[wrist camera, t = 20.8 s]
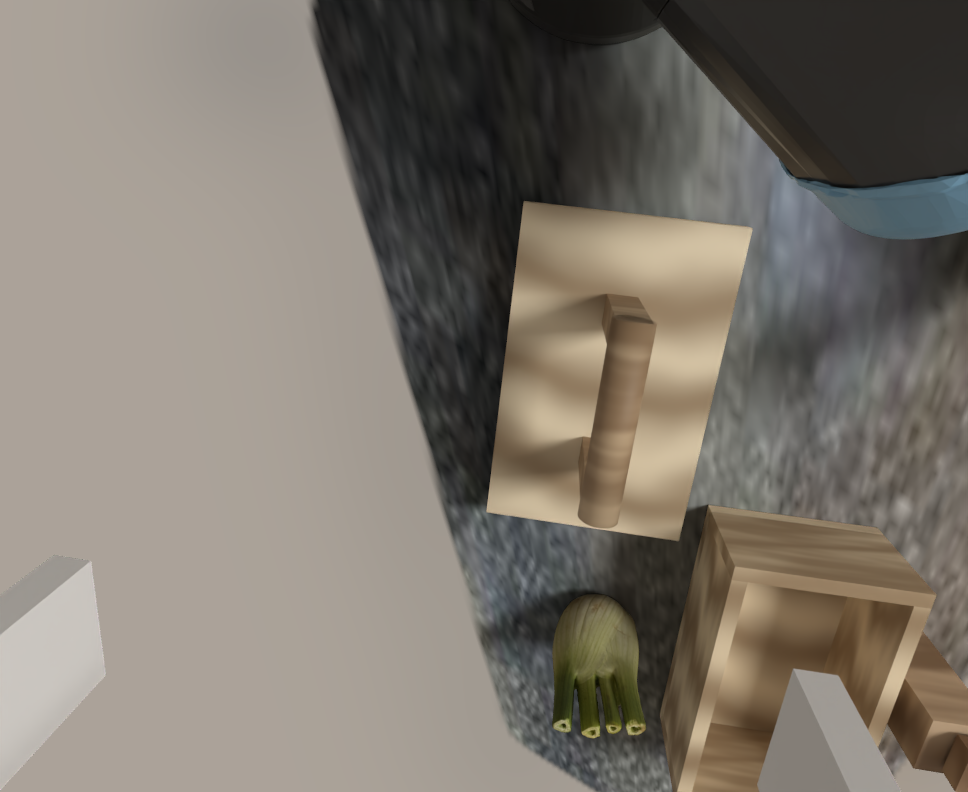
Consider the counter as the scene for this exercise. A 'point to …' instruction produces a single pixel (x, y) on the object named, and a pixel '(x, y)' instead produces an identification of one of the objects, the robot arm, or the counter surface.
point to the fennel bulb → (596, 666)
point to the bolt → (958, 764)
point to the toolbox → (800, 645)
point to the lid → (611, 365)
